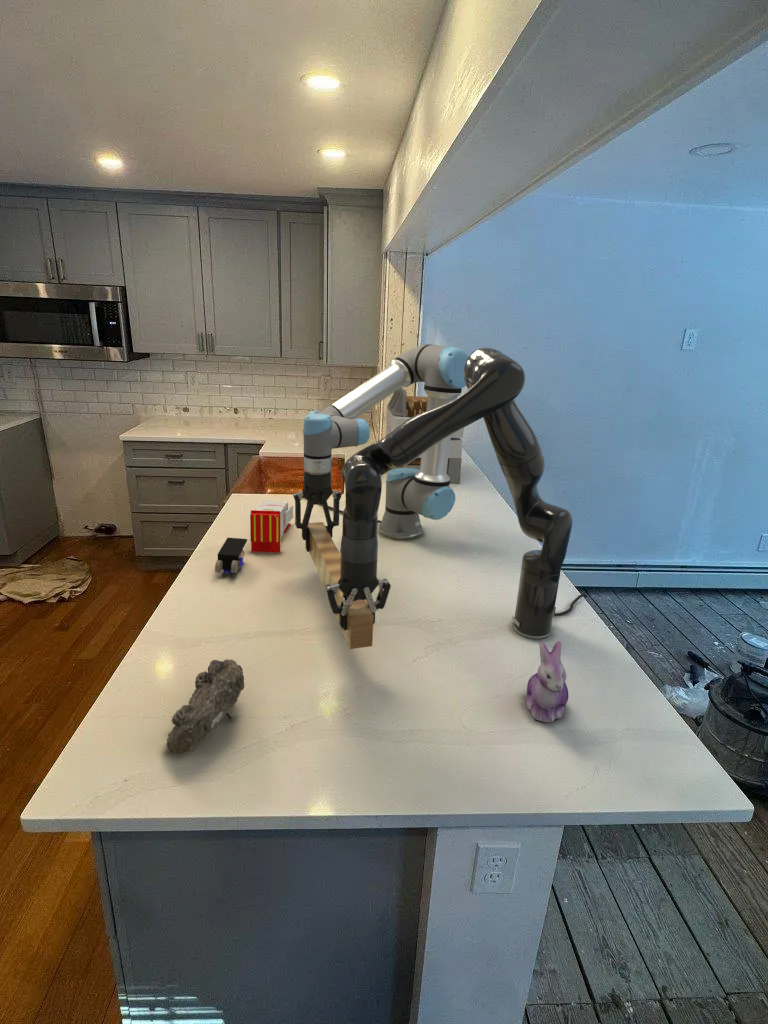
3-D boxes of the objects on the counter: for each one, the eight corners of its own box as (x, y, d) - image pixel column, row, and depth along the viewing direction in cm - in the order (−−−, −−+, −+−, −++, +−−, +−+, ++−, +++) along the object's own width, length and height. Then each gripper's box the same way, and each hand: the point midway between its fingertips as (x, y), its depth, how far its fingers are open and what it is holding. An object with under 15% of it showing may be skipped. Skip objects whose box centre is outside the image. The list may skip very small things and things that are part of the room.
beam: (306, 546, 167) (306, 523, 164) (322, 545, 168) (322, 522, 165) (350, 649, 118) (350, 618, 115) (372, 646, 119) (373, 615, 116)
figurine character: (238, 584, 162) (249, 557, 175) (236, 562, 158) (247, 536, 172) (215, 584, 161) (227, 556, 175) (212, 561, 158) (225, 535, 171)
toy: (295, 495, 204) (283, 512, 175) (295, 531, 207) (283, 554, 178) (261, 494, 204) (243, 511, 175) (262, 530, 207) (244, 553, 177)
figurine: (546, 731, 108) (557, 664, 103) (511, 699, 116) (520, 636, 111) (582, 717, 112) (595, 652, 107) (546, 687, 121) (556, 626, 116)
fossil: (192, 660, 117) (244, 628, 112) (224, 691, 120) (276, 661, 115) (142, 746, 98) (202, 712, 93) (182, 779, 101) (242, 748, 96)
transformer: (382, 463, 289) (386, 382, 275) (445, 464, 293) (451, 384, 279) (390, 482, 257) (394, 392, 243) (460, 483, 261) (468, 394, 247)
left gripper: (286, 476, 150) (287, 556, 158) (352, 473, 155) (350, 551, 163) (283, 468, 157) (284, 546, 165) (346, 466, 162) (344, 541, 170)
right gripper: (328, 564, 110) (327, 640, 116) (398, 558, 114) (394, 632, 120) (320, 549, 117) (320, 621, 122) (387, 544, 121) (384, 614, 126)
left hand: (317, 548), depth 164 cm, fingers closed on beam, 5 cm apart
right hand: (357, 626), depth 121 cm, fingers closed on beam, 4 cm apart
